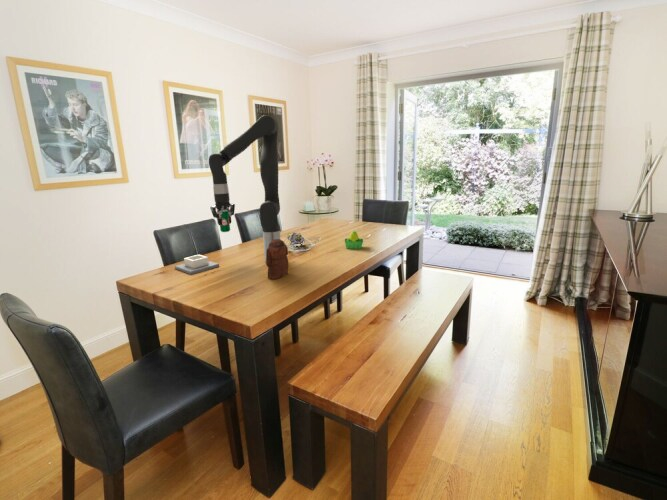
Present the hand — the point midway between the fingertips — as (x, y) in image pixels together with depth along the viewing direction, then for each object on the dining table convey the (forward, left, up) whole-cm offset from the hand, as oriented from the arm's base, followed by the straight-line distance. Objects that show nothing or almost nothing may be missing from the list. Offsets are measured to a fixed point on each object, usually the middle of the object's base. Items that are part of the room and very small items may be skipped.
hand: (224, 224), depth 188 cm
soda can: (0, 0, -4) cm, 4 cm away
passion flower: (-8, -45, -21) cm, 50 cm away
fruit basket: (-40, -63, -21) cm, 78 cm away
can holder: (+5, +16, -21) cm, 27 cm away
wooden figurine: (-40, 0, -21) cm, 45 cm away
